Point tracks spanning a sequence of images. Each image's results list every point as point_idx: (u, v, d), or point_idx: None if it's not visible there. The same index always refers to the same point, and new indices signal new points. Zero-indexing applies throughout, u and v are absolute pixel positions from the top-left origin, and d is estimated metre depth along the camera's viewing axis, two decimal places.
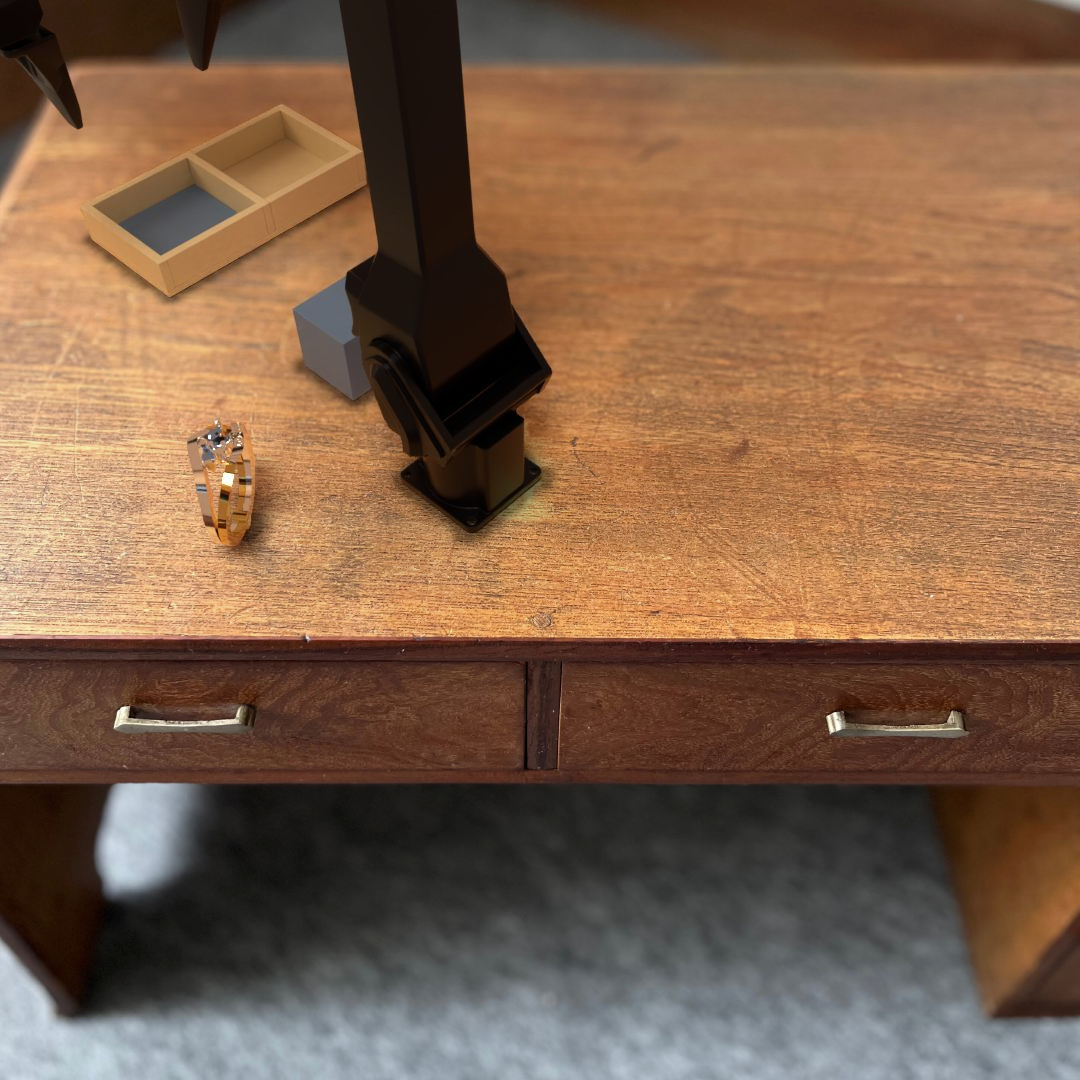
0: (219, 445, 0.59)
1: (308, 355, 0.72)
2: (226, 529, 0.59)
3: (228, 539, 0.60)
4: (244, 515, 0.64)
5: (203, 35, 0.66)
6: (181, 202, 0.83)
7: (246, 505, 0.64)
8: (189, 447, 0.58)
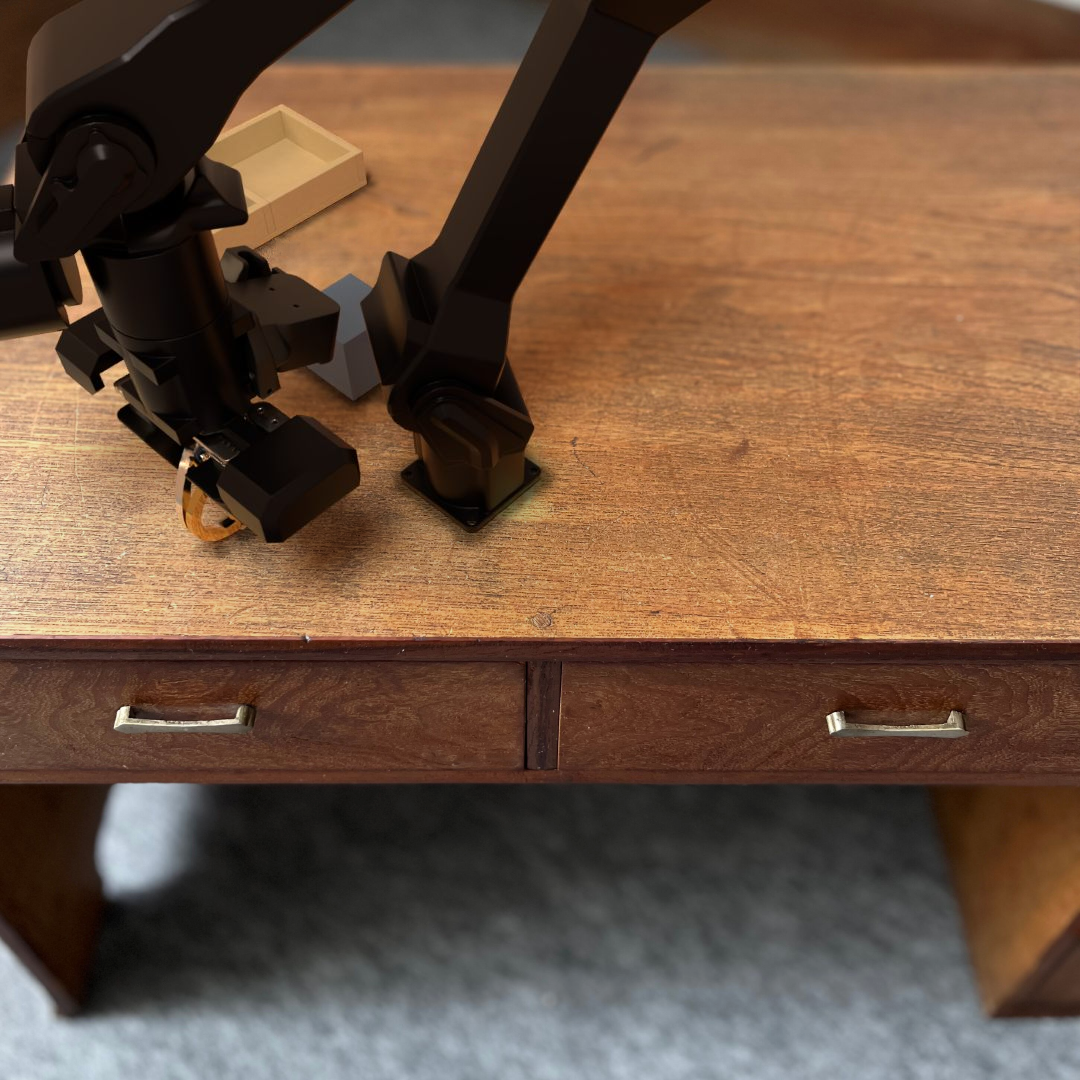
0: None
1: None
2: (192, 525, 0.59)
3: (196, 534, 0.60)
4: None
5: None
6: None
7: None
8: None
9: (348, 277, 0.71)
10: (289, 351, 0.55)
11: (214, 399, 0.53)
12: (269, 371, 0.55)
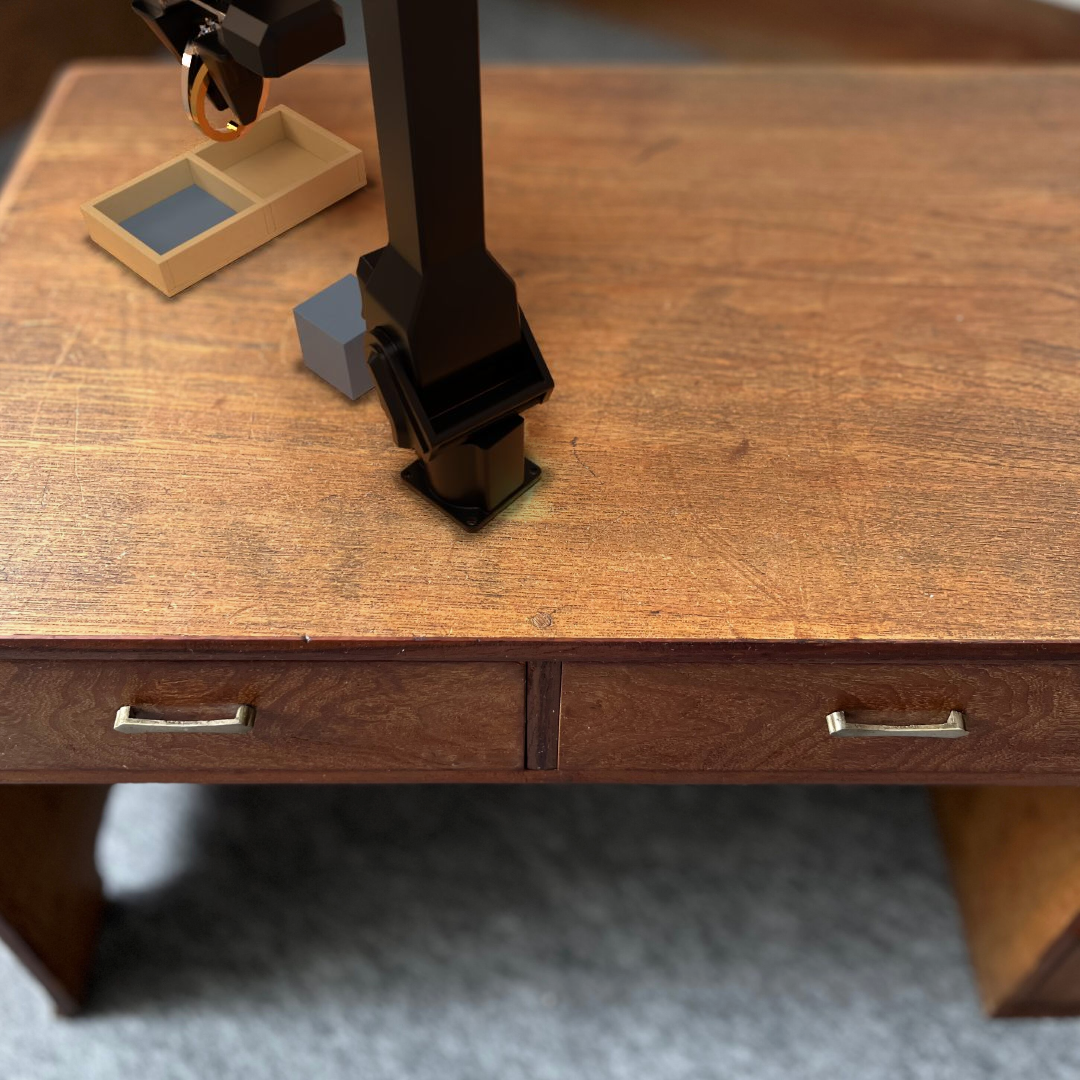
0: None
1: (308, 355, 0.72)
2: (196, 109, 0.67)
3: (199, 123, 0.68)
4: (238, 124, 0.72)
5: (222, 93, 0.68)
6: (181, 202, 0.83)
7: None
8: (195, 28, 0.67)
9: (348, 277, 0.71)
10: None
11: None
12: None
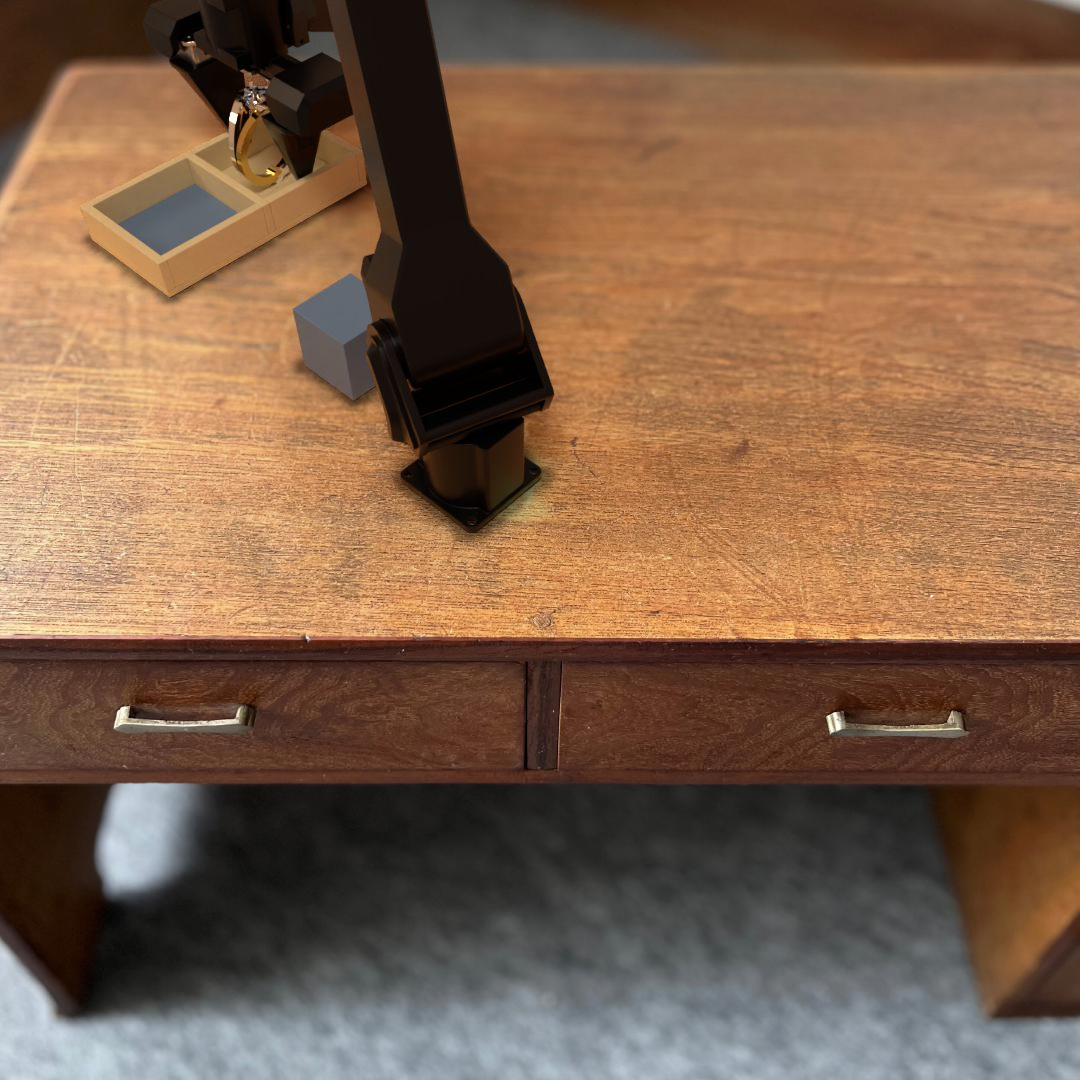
0: None
1: (308, 355, 0.72)
2: (241, 158, 0.80)
3: (243, 170, 0.81)
4: (275, 170, 0.84)
5: (284, 157, 0.80)
6: (181, 202, 0.83)
7: (282, 166, 0.85)
8: (240, 91, 0.80)
9: (348, 277, 0.71)
10: (316, 12, 0.76)
11: (263, 35, 0.74)
12: (301, 23, 0.75)
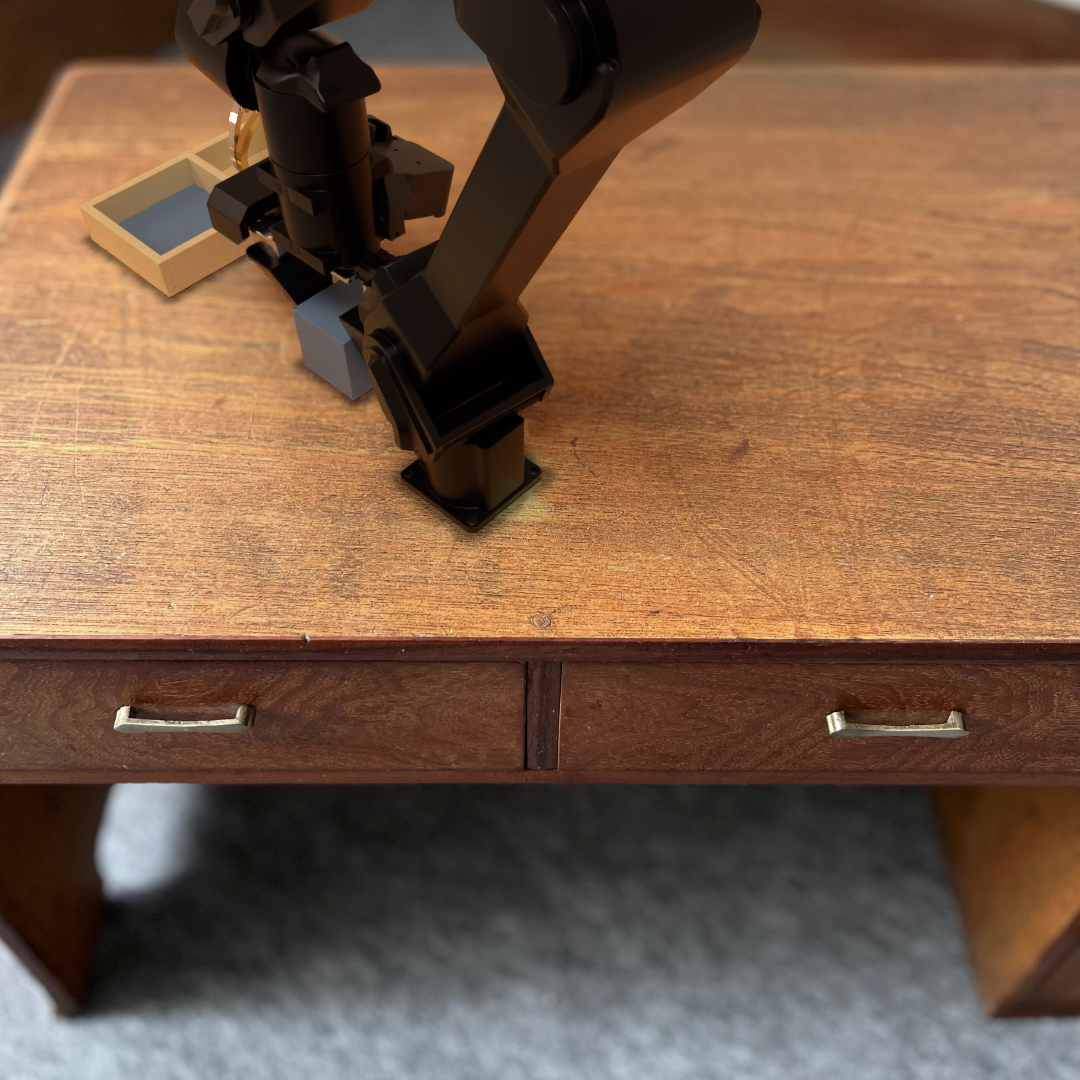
0: None
1: (308, 355, 0.72)
2: (241, 158, 0.80)
3: None
4: None
5: (360, 352, 0.69)
6: (181, 202, 0.83)
7: None
8: None
9: None
10: (414, 199, 0.64)
11: (355, 234, 0.62)
12: (398, 215, 0.64)
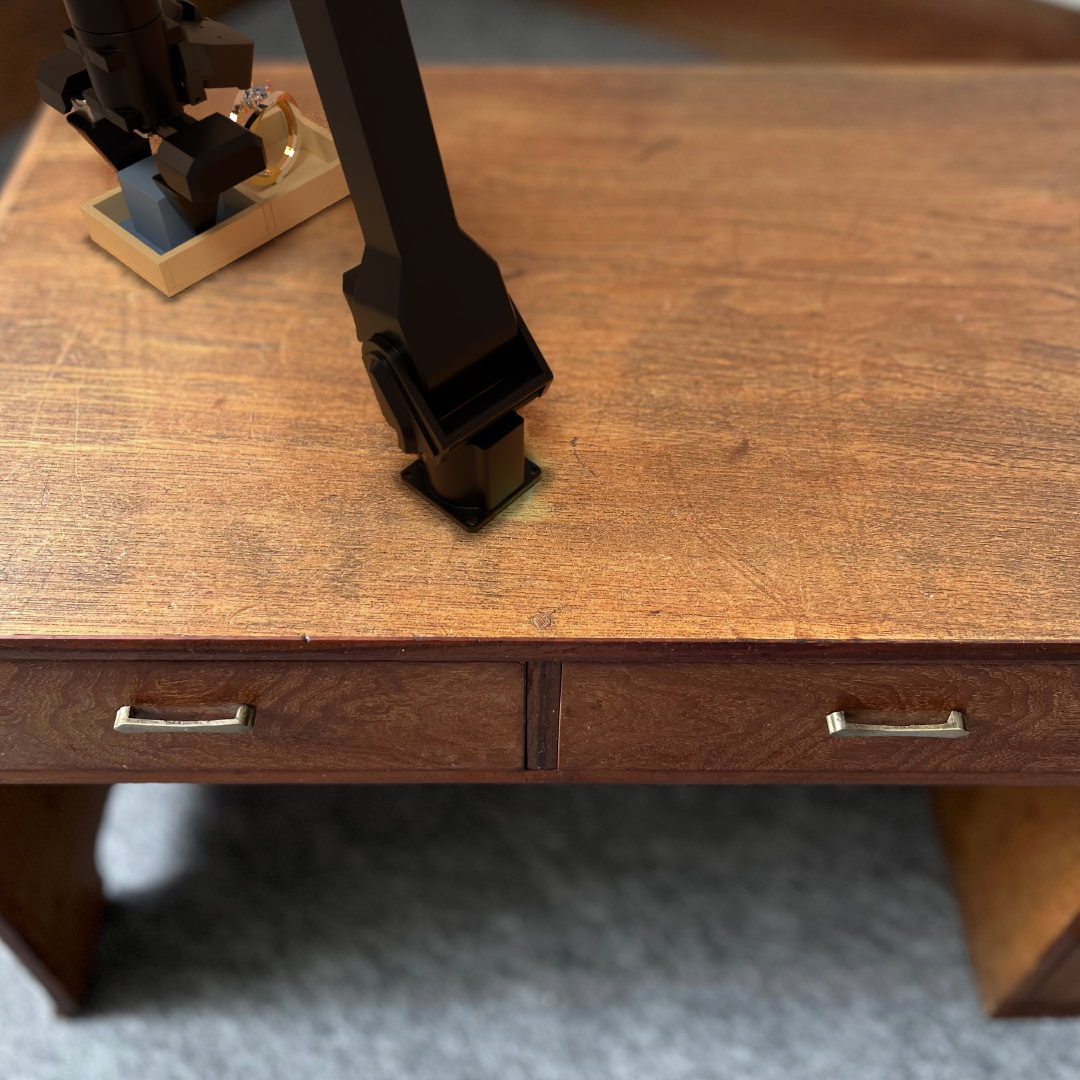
0: None
1: (135, 219, 0.79)
2: None
3: None
4: (275, 170, 0.84)
5: (181, 217, 0.76)
6: None
7: (282, 166, 0.85)
8: (240, 91, 0.80)
9: None
10: (213, 68, 0.72)
11: (153, 95, 0.70)
12: (197, 81, 0.72)
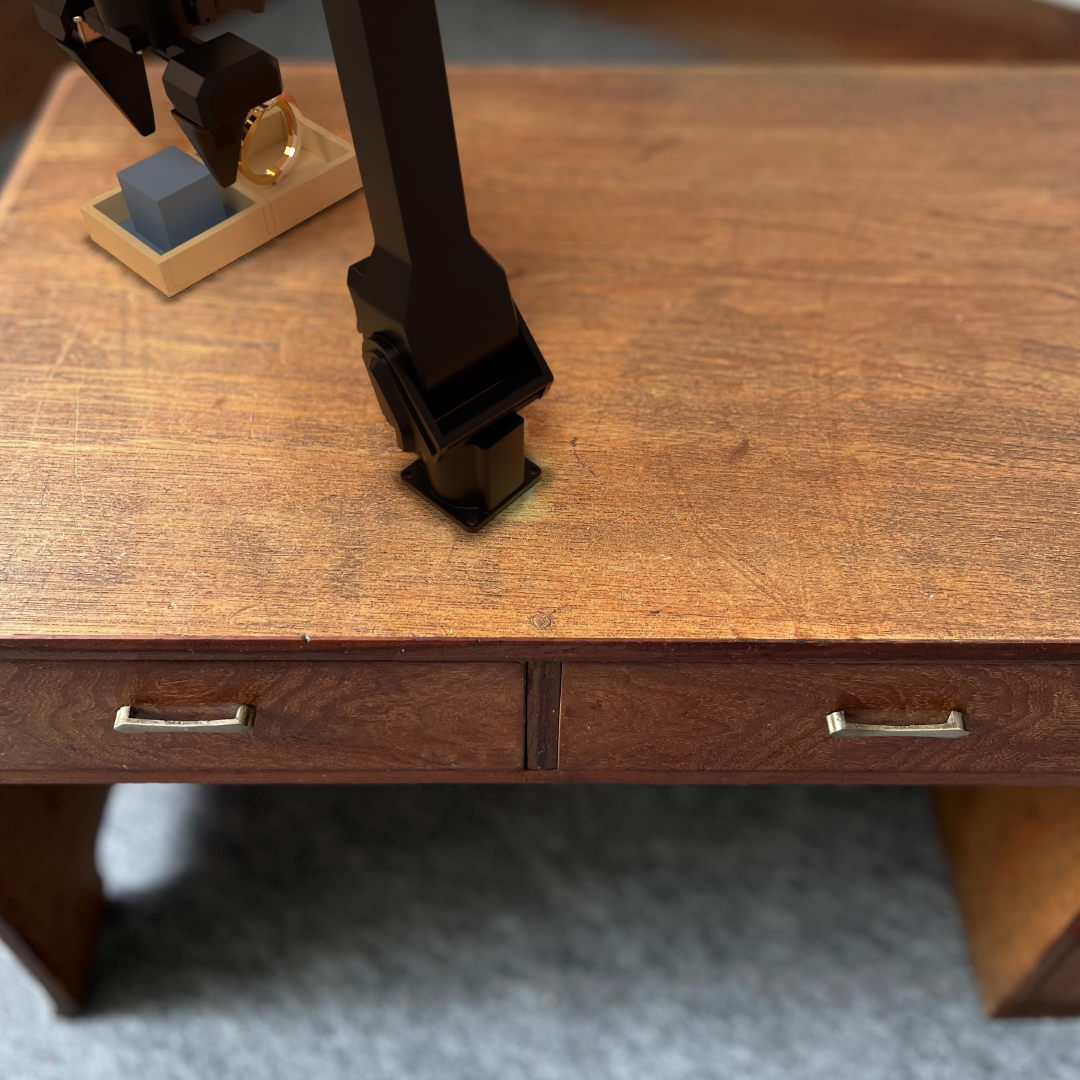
0: None
1: (135, 219, 0.79)
2: (241, 158, 0.80)
3: (243, 170, 0.81)
4: (275, 170, 0.84)
5: (201, 158, 0.70)
6: None
7: (282, 166, 0.85)
8: None
9: (170, 148, 0.79)
10: None
11: (160, 12, 0.64)
12: None
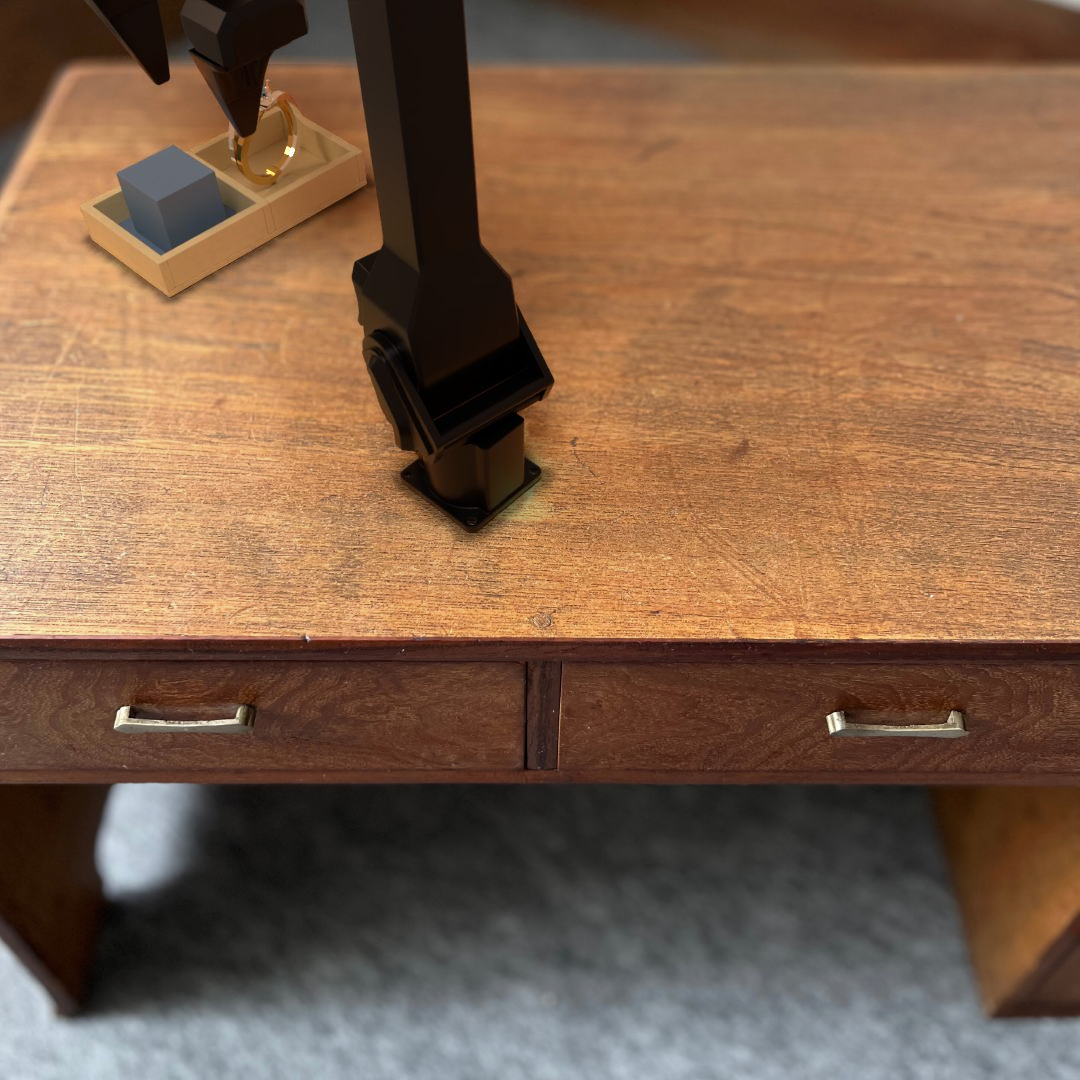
0: None
1: (135, 219, 0.79)
2: (241, 158, 0.80)
3: (243, 170, 0.81)
4: (275, 170, 0.84)
5: (220, 104, 0.66)
6: None
7: (282, 166, 0.85)
8: None
9: (170, 148, 0.79)
10: None
11: None
12: None
